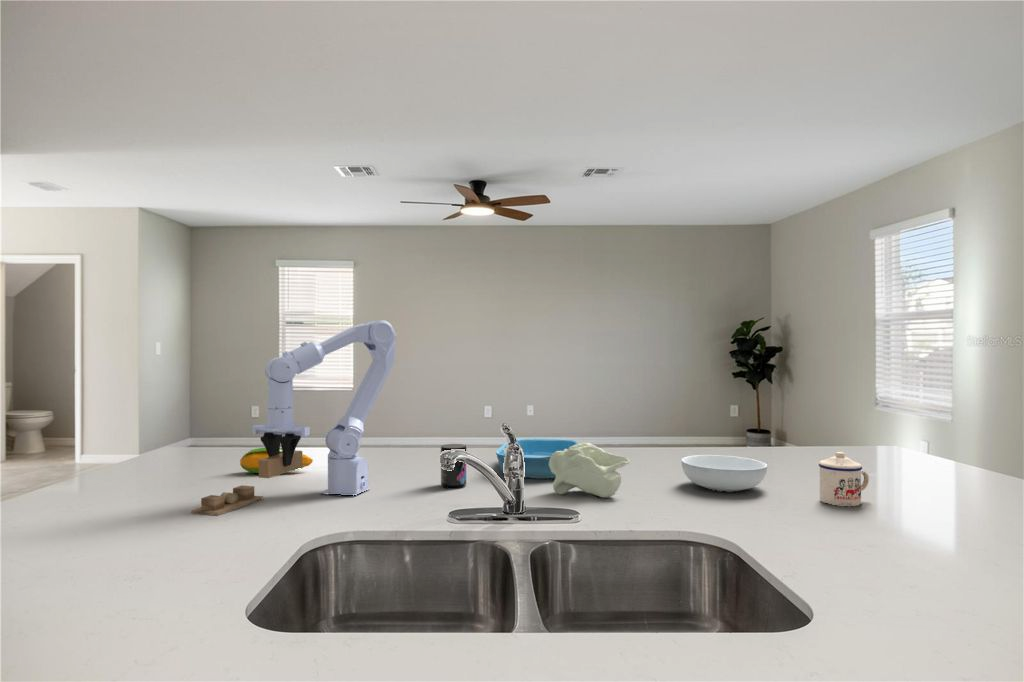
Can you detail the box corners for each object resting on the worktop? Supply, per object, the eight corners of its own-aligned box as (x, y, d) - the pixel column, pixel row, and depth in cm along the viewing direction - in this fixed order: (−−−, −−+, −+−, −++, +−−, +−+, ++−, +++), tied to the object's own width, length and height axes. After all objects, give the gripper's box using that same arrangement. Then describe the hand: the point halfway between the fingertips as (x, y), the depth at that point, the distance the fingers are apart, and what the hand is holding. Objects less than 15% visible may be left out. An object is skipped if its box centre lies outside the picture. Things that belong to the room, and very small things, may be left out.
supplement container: (454, 490, 163) (454, 449, 163) (435, 486, 167) (435, 446, 167) (472, 485, 169) (471, 445, 169) (452, 482, 173) (452, 443, 173)
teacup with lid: (836, 508, 146) (836, 456, 146) (810, 498, 155) (810, 449, 155) (882, 505, 149) (882, 454, 148) (854, 496, 157) (854, 448, 157)
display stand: (263, 498, 154) (263, 485, 154) (218, 515, 140) (217, 501, 140) (238, 496, 156) (238, 484, 156) (191, 512, 142) (191, 498, 142)
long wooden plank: (302, 467, 159) (302, 450, 159) (268, 478, 147) (268, 460, 147) (292, 466, 160) (292, 450, 160) (257, 477, 148) (257, 460, 148)
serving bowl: (780, 498, 156) (780, 469, 156) (692, 497, 156) (692, 469, 156) (750, 479, 176) (750, 454, 176) (673, 479, 177) (673, 453, 177)
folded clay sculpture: (605, 518, 162) (631, 461, 165) (604, 518, 150) (632, 457, 152) (541, 485, 167) (567, 430, 169) (535, 482, 155) (563, 424, 157)
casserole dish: (511, 457, 210) (511, 435, 210) (580, 459, 207) (580, 437, 207) (488, 482, 174) (488, 455, 174) (572, 485, 170) (572, 457, 170)
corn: (244, 444, 187) (315, 443, 189) (245, 470, 187) (316, 469, 190) (236, 450, 179) (310, 449, 182) (237, 477, 180) (311, 476, 182)
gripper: (243, 408, 152) (243, 466, 152) (296, 410, 148) (297, 470, 148) (263, 405, 159) (263, 461, 159) (314, 407, 154) (315, 464, 155)
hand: (281, 465), depth 154 cm, fingers closed on long wooden plank, 3 cm apart
